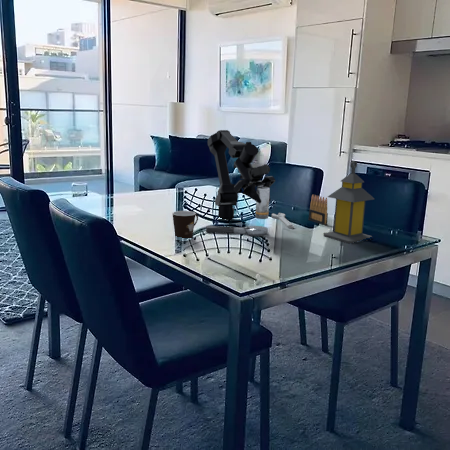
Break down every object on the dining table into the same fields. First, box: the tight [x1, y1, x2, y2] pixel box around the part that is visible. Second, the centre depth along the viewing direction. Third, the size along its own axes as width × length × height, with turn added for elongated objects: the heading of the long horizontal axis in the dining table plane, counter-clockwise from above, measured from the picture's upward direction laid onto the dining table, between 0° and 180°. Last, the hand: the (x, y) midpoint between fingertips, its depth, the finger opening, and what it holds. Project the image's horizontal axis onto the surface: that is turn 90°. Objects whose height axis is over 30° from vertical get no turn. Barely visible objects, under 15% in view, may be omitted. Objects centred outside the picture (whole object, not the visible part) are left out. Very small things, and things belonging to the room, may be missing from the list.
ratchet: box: [205, 225, 269, 237], centre depth 197 cm, size 24×9×2 cm, turn 86°
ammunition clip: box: [308, 194, 329, 226], centre depth 218 cm, size 11×2×12 cm, turn 30°
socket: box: [255, 186, 271, 220], centre depth 194 cm, size 5×5×12 cm
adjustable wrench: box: [271, 212, 295, 230], centre depth 218 cm, size 25×6×2 cm, turn 4°
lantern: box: [323, 160, 375, 244], centre depth 192 cm, size 14×14×30 cm
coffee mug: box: [172, 210, 199, 239], centre depth 186 cm, size 12×9×10 cm
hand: (265, 201), depth 193 cm, fingers closed on socket, 5 cm apart
